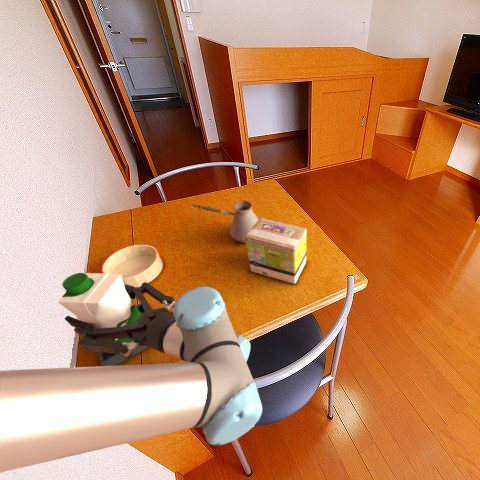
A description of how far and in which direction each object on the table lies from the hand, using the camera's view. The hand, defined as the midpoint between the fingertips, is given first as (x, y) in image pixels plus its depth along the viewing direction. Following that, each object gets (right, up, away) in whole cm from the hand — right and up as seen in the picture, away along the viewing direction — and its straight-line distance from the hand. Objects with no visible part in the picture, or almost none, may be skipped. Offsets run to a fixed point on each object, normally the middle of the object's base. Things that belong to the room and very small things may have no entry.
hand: (91, 302), depth 61 cm
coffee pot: (+20, +15, +36) cm, 44 cm away
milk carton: (+4, -9, +6) cm, 12 cm away
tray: (+4, -10, +6) cm, 12 cm away
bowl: (-5, +4, +23) cm, 24 cm away
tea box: (+38, +5, +26) cm, 46 cm away
